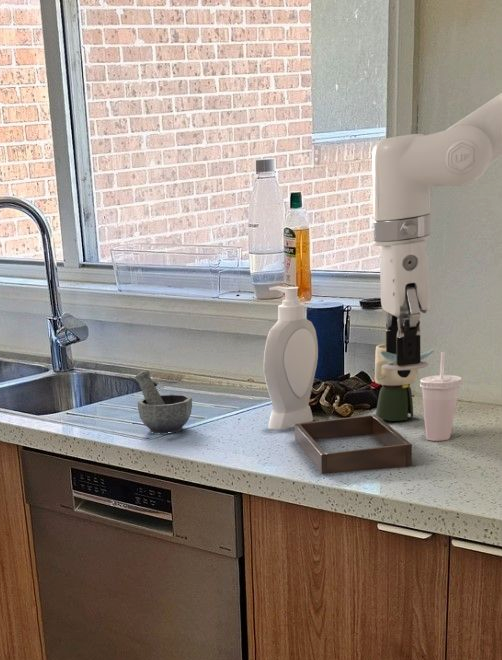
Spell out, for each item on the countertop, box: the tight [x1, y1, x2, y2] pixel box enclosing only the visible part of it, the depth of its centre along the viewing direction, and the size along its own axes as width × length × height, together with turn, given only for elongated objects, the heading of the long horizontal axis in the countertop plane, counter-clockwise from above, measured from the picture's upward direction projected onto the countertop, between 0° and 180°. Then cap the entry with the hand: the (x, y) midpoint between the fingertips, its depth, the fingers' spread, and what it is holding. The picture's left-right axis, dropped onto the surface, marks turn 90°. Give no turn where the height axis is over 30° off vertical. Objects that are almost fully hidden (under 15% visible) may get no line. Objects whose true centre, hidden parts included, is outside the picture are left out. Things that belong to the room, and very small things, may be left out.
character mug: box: [374, 342, 419, 422], centre depth 213 cm, size 11×7×13 cm, turn 126°
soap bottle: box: [263, 285, 319, 430], centre depth 217 cm, size 13×8×24 cm, turn 121°
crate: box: [294, 413, 413, 475], centre depth 198 cm, size 14×23×4 cm, turn 176°
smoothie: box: [419, 351, 463, 442], centre depth 197 cm, size 6×6×14 cm
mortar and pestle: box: [134, 370, 193, 433], centre depth 225 cm, size 11×9×12 cm
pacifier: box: [381, 324, 435, 370], centre depth 176 cm, size 7×6×6 cm
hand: (402, 359), depth 178 cm, fingers closed on pacifier, 5 cm apart
